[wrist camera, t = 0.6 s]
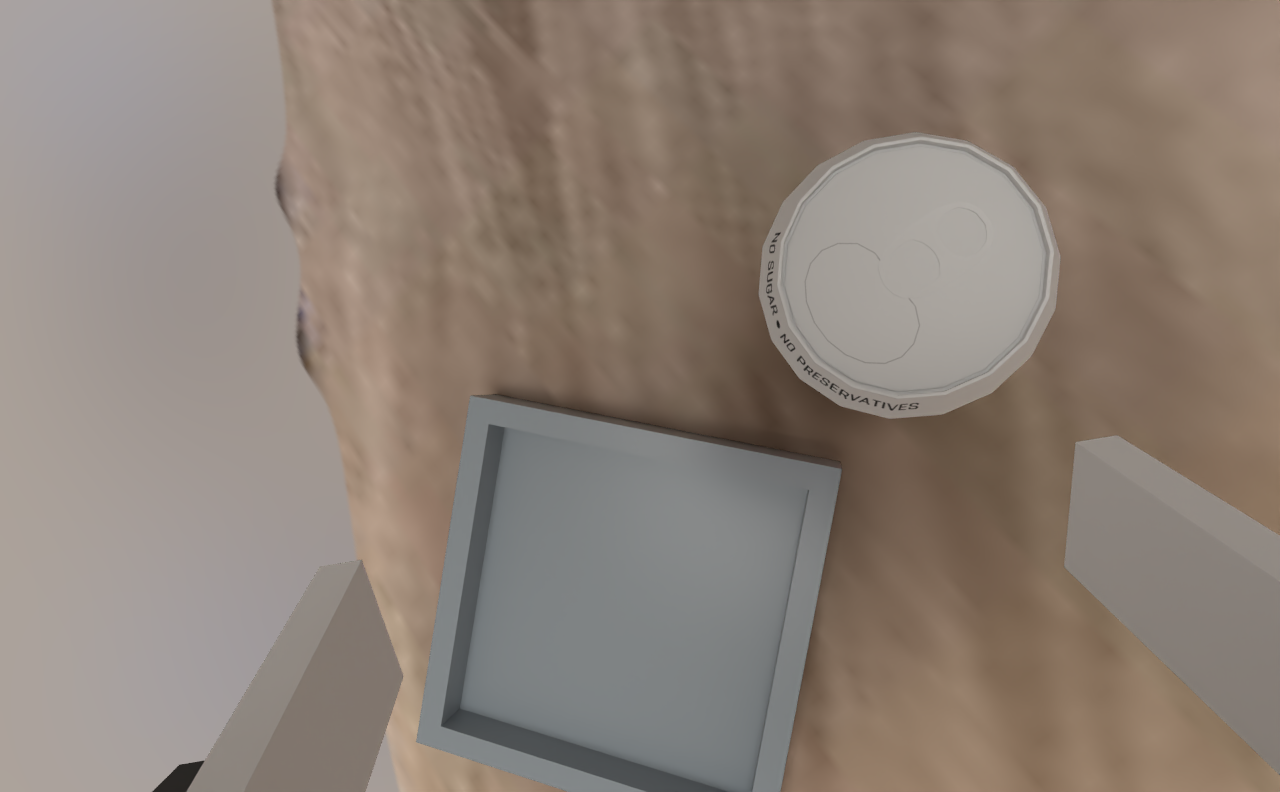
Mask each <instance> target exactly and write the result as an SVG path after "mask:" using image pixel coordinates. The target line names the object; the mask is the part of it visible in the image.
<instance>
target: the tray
mask: <svg viewBox="0 0 1280 792" xmlns="http://www.w3.org/2000/svg"><path fill="white" fill-rule="evenodd" d="M841 472H842V468H841V465H840V462H839V461H835V460H830V459H824V458H819V457H814V456H809V455H804V454H799V453H794V452H789V451H783V450H778V449H773V448H768V447H763V446H758V445H753V444H748V443H743V442H737V441H732V440H727V439H722V438H717V437H712V436H707V435H702V434H697V433H691V432H686V431H681V430H676V429H671V428H666V427H661V426H656V425H651V424H645V423H640V422H635V421H630V420H625V419H620V418H615V417H610V416H605V415H599V414H594V413H589V412H584V411H579V410H574V409H569V408H564V407H559V406H553V405H548V404H543V403H538V402H533V401H528V400H523V399H518V398H513V397H507V396H502V395H497V394H493V395H472V396H470V401H469V408H468V414H467V420H466V427H465V433H464V440H463V446H462V452H461V459H460V465H459V472H458V478H457V484H456V491H455V497H454V504H453V510H452V517H451V523H450V529H449V536H448V542H447V549H446V555H445V561H444V568H443V574H442V581H441V587H440V593H439V600H438V606H437V613H436V619H435V625H434V632H433V638H432V645H431V651H430V657H429V664H428V670H427V677H426V683H425V689H424V696H423V702H422V709H421V715H420V721H419V728H418V734H417V741H416V742H417V743H420V744H424V745H427V746H430V747H433V748H436V749H439V750H442V751H445V752H448V753H451V754H454V755H457V756H460V757H463V758H467V759H470V760H473V761H476V762H479V763H482V764H485V765H488V766H491V767H494V768H497V769H500V770H503V771H506V772H509V773H513V774H516V775H519V776H522V777H525V778H528V779H531V780H534V781H537V782H540V783H543V784H546V785H549V786H552V787H555V788H559V789H562V790H565V791H568V792H780V791H781V786H782V781H783V775H784V770H785V765H786V760H787V754H788V749H789V744H790V739H791V733H792V728H793V723H794V718H795V713H796V707H797V702H798V697H799V692H800V686H801V681H802V676H803V671H804V665H805V660H806V655H807V650H808V645H809V639H810V634H811V629H812V624H813V618H814V613H815V608H816V603H817V597H818V592H819V587H820V582H821V577H822V571H823V566H824V561H825V556H826V550H827V545H828V540H829V535H830V529H831V524H832V519H833V514H834V509H835V503H836V498H837V493H838V488H839V482H840V477H841Z"/></svg>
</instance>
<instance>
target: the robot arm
mask: <svg viewBox="0 0 1280 792" xmlns="http://www.w3.org/2000/svg"><path fill="white" fill-rule="evenodd" d="M1064 567H1065V568H1066V569H1067V570H1068V571H1069V572H1070V573H1071V574H1072V575H1073V576H1074V577H1075V578H1076V579H1077V580H1078V581H1079V582H1080V583H1081V584H1082V585H1083V586H1084V587H1085V588H1086V589H1087V590H1088V591H1089V592H1091V593H1092V594H1093V595H1094V596H1095V597H1096V598H1097V599H1098V600H1099V601H1100V602H1101V603H1102V604H1103V605H1104V606H1105V607H1106V608H1107V609H1108V610H1109V611H1110V612H1111V613H1112V614H1113V615H1114V616H1115V617H1116V618H1117V619H1118V620H1120V621H1121V622H1122V623H1123V624H1124V625H1125V626H1126V627H1127V628H1128V629H1129V630H1130V631H1131V632H1132V633H1133V634H1134V635H1135V636H1136V637H1137V638H1138V639H1139V640H1140V641H1141V642H1142V643H1143V644H1144V645H1145V646H1146V647H1148V648H1149V649H1150V650H1151V651H1152V652H1153V653H1154V654H1155V655H1156V656H1157V657H1158V658H1159V659H1160V660H1161V661H1162V662H1163V663H1164V664H1165V665H1166V666H1167V667H1168V668H1169V669H1170V670H1171V671H1172V672H1173V673H1174V674H1175V675H1177V676H1178V677H1179V678H1180V679H1181V680H1182V681H1183V682H1184V683H1185V684H1186V685H1187V686H1188V687H1189V688H1190V689H1191V690H1192V691H1193V692H1194V693H1195V694H1196V695H1197V696H1198V697H1199V698H1200V699H1201V700H1202V701H1203V702H1205V703H1206V704H1207V705H1208V706H1209V707H1210V708H1211V709H1212V710H1213V711H1214V712H1215V713H1216V714H1217V715H1218V716H1219V717H1220V718H1221V719H1222V720H1223V721H1224V722H1225V723H1226V724H1227V725H1228V726H1229V727H1230V728H1231V729H1232V730H1234V731H1235V732H1236V733H1237V734H1238V735H1239V736H1240V737H1241V738H1242V739H1243V740H1244V741H1245V742H1246V743H1247V744H1248V745H1249V746H1250V747H1251V748H1252V749H1253V750H1254V751H1255V752H1256V753H1257V754H1258V755H1259V756H1260V757H1262V758H1263V759H1264V760H1265V761H1266V762H1267V763H1268V764H1269V765H1270V766H1271V767H1272V768H1273V769H1274V770H1275V771H1276V772H1277V773H1278V774H1279V775H1280V535H1278V534H1276V533H1275V532H1273V531H1271V530H1270V529H1268V528H1267V527H1265V526H1263V525H1262V524H1260V523H1259V522H1257V521H1255V520H1254V519H1252V518H1250V517H1249V516H1247V515H1246V514H1244V513H1242V512H1241V511H1239V510H1237V509H1236V508H1234V507H1233V506H1231V505H1229V504H1228V503H1226V502H1225V501H1223V500H1221V499H1220V498H1218V497H1216V496H1215V495H1213V494H1212V493H1210V492H1208V491H1207V490H1205V489H1203V488H1202V487H1200V486H1199V485H1197V484H1195V483H1194V482H1192V481H1190V480H1189V479H1187V478H1186V477H1184V476H1182V475H1181V474H1179V473H1178V472H1176V471H1174V470H1173V469H1171V468H1169V467H1168V466H1166V465H1165V464H1163V463H1161V462H1160V461H1158V460H1156V459H1155V458H1153V457H1152V456H1150V455H1148V454H1147V453H1145V452H1144V451H1142V450H1140V449H1139V448H1137V447H1135V446H1134V445H1132V444H1131V443H1129V442H1127V441H1126V440H1124V439H1122V438H1121V437H1119V436H1118V435H1116V436H1110V437H1104V438H1098V439H1091V440H1085V441H1079V442H1076V444H1075V455H1074V466H1073V477H1072V487H1071V498H1070V509H1069V520H1068V531H1067V541H1066V552H1065V563H1064ZM402 679H403V673H402V671H401V668H400V665H399V662H398V659H397V657H396V654H395V651H394V648H393V646H392V643H391V640H390V637H389V634H388V632H387V629H386V626H385V623H384V620H383V618H382V615H381V612H380V609H379V606H378V604H377V601H376V598H375V595H374V593H373V590H372V587H371V584H370V581H369V579H368V576H367V573H366V570H365V567H364V565H363V562H362V560H357V561H351V562H345V563H340V564H333V565H328V566H321V567H320V568H319V569H318V571H317V573H316V574H315V576H314V578H313V579H312V581H311V583H310V584H309V586H308V588H307V590H306V591H305V593H304V595H303V596H302V598H301V600H300V601H299V603H298V604H297V606H296V608H295V610H294V611H293V613H292V615H291V616H290V618H289V620H288V621H287V623H286V625H285V626H284V628H283V630H282V631H281V633H280V635H279V637H278V638H277V640H276V642H275V643H274V645H273V647H272V649H271V650H270V652H269V654H268V655H267V657H266V659H265V660H264V662H263V663H262V665H261V667H260V669H259V670H258V672H257V674H256V675H255V677H254V679H253V680H252V682H251V684H250V686H249V687H248V689H247V691H246V692H245V694H244V696H243V697H242V699H241V701H240V702H239V704H238V706H237V708H236V709H235V711H234V712H233V714H232V716H231V718H230V719H229V721H228V723H227V724H226V726H225V728H224V729H223V731H222V733H221V734H220V736H219V738H218V739H217V741H216V743H215V744H214V746H213V748H212V749H211V751H210V753H209V755H208V756H207V758H206V760H205V761H200V762H194V763H188V764H182V765H179V766H178V767H177V768H176V769H175V770H174V771H173V772H172V773H171V774H170V775H169V776H168V777H167V778H166V779H165V780H164V781H163V782H162V783H161V784H160V785H159V786H158V787H157V788H156V789H155V790H154V791H153V792H365V791H366V788H367V785H368V782H369V779H370V776H371V773H372V770H373V767H374V764H375V761H376V758H377V755H378V752H379V749H380V746H381V743H382V740H383V737H384V734H385V731H386V728H387V725H388V722H389V719H390V716H391V713H392V710H393V707H394V704H395V701H396V698H397V695H398V692H399V689H400V685H401V682H402Z"/></svg>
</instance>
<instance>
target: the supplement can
mask: <svg viewBox="0 0 1280 792" xmlns="http://www.w3.org/2000/svg"><path fill="white" fill-rule="evenodd" d="M1060 260H1061V256H1060V253H1059V249H1058V246H1057V243H1056V239H1055V236H1054V233H1053V229H1052V226H1051V223H1050V219H1049V216H1048V212H1047V209H1046V207H1045V205H1044V204H1043V203H1042V202H1041V200H1040V199H1039V198H1038V197H1037V196H1036V194H1035V193H1034V192H1033V191H1032V189H1031V188H1030V187H1029V186H1028V184H1027V183H1026V182H1025V181H1024V179H1023V178H1022V177H1021V176H1020V174H1019V173H1018V172H1017V171H1016V169H1015V168H1014V167H1013V166H1011V165H1009V164H1008V163H1006V162H1004V161H1002V160H1001V159H999V158H997V157H995V156H994V155H992V154H990V153H988V152H987V151H985V150H983V149H981V148H980V147H978V146H976V145H974V144H973V143H971V142H969V141H966V140H960V139H954V138H948V137H942V136H937V135H931V134H925V133H919V132H913V133H907V134H901V135H895V136H889V137H883V138H877V139H871V140H865V141H862V142H860V143H858V144H856V145H855V146H853V147H851V148H849V149H847V150H845V151H843V152H842V153H840V154H838V155H836V156H834V157H832V158H830V159H828V160H827V161H825V162H823V163H821V164H819V165H817V166H816V167H815V169H814V170H813V171H812V172H811V173H810V174H809V175H808V176H807V177H806V178H805V179H804V180H803V181H802V182H801V183H800V184H799V185H798V187H797V188H796V189H795V190H794V191H793V192H792V193H791V194H790V195H789V196H788V197H787V198H786V199H785V200H784V201H783V203H782V205H781V207H780V209H779V212H778V214H777V216H776V218H775V220H774V223H773V225H772V227H771V229H770V231H769V234H768V236H767V238H766V240H765V242H764V245H763V247H762V259H761V271H760V283H759V298H760V301H761V305H762V309H763V312H764V316H765V319H766V323H767V326H768V330H769V334H770V337H771V340H772V342H773V343H774V344H775V346H776V347H777V349H778V350H779V351H780V353H781V354H782V355H783V357H784V358H785V360H786V361H787V362H788V364H789V365H790V366H791V368H792V369H793V371H794V372H795V373H796V375H797V376H798V377H799V379H801V380H802V381H804V382H805V383H807V384H808V385H809V386H811V387H812V388H814V389H815V390H817V391H818V392H820V393H821V394H823V395H824V396H826V397H827V398H829V399H830V400H832V401H833V402H835V403H836V404H838V405H839V406H842V407H845V408H849V409H853V410H857V411H861V412H865V413H869V414H873V415H877V416H880V417H884V418H888V419H894V418H907V417H919V416H932V415H943V414H945V413H947V412H950V411H952V410H954V409H956V408H959V407H961V406H963V405H966V404H968V403H970V402H973V401H975V400H977V399H980V398H982V397H984V396H987V395H989V394H991V393H992V392H994V391H995V390H996V389H997V388H998V387H999V386H1000V385H1001V384H1002V383H1003V382H1004V381H1005V380H1007V379H1008V378H1009V377H1010V376H1011V375H1012V374H1013V373H1014V372H1015V371H1016V370H1017V369H1018V368H1020V367H1021V366H1022V365H1023V364H1024V363H1025V362H1026V361H1027V360H1028V359H1029V358H1030V357H1031V356H1032V354H1033V352H1034V350H1035V348H1036V346H1037V345H1038V343H1039V341H1040V339H1041V337H1042V335H1043V333H1044V331H1045V329H1046V327H1047V325H1048V323H1049V321H1050V319H1051V317H1052V315H1053V313H1054V311H1055V309H1056V300H1057V290H1058V280H1059V270H1060Z"/></svg>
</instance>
